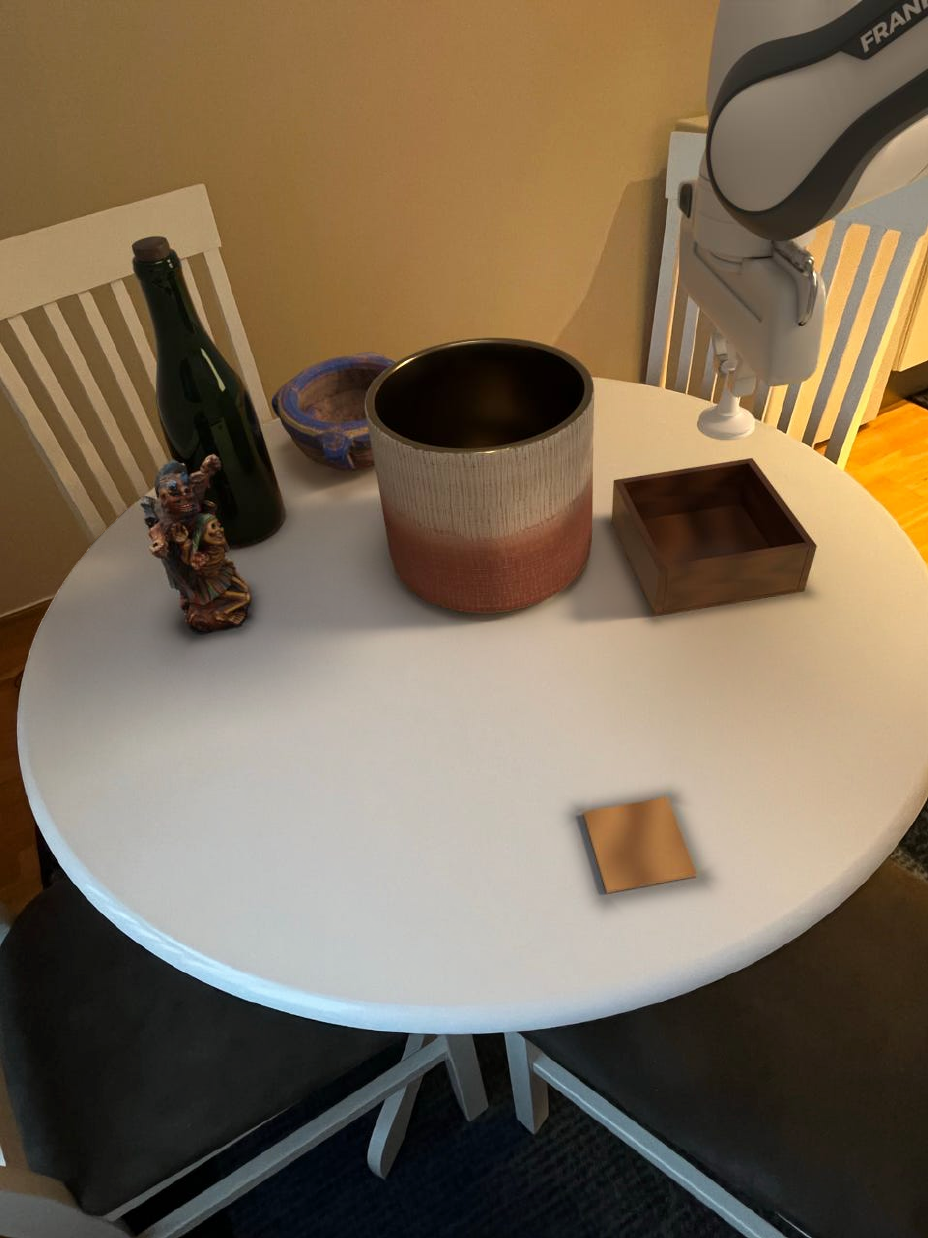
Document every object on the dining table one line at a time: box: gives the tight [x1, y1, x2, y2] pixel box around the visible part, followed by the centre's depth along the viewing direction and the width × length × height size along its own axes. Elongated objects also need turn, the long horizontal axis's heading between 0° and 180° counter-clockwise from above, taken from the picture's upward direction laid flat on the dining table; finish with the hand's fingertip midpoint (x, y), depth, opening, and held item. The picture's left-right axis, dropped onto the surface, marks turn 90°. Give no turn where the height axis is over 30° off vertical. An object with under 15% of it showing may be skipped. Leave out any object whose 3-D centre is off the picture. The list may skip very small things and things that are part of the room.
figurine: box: [140, 454, 253, 635], centre depth 82 cm, size 11×9×18 cm
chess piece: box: [696, 340, 756, 442], centre depth 70 cm, size 5×5×10 cm
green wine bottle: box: [131, 235, 286, 547], centre depth 89 cm, size 10×10×33 cm
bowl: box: [271, 351, 398, 472], centre depth 105 cm, size 18×18×10 cm
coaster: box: [582, 796, 698, 894], centre depth 65 cm, size 7×7×1 cm
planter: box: [365, 337, 595, 614], centre depth 85 cm, size 22×22×20 cm
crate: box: [610, 457, 818, 617], centre depth 87 cm, size 16×16×6 cm
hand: (731, 382), depth 71 cm, fingers closed on chess piece
